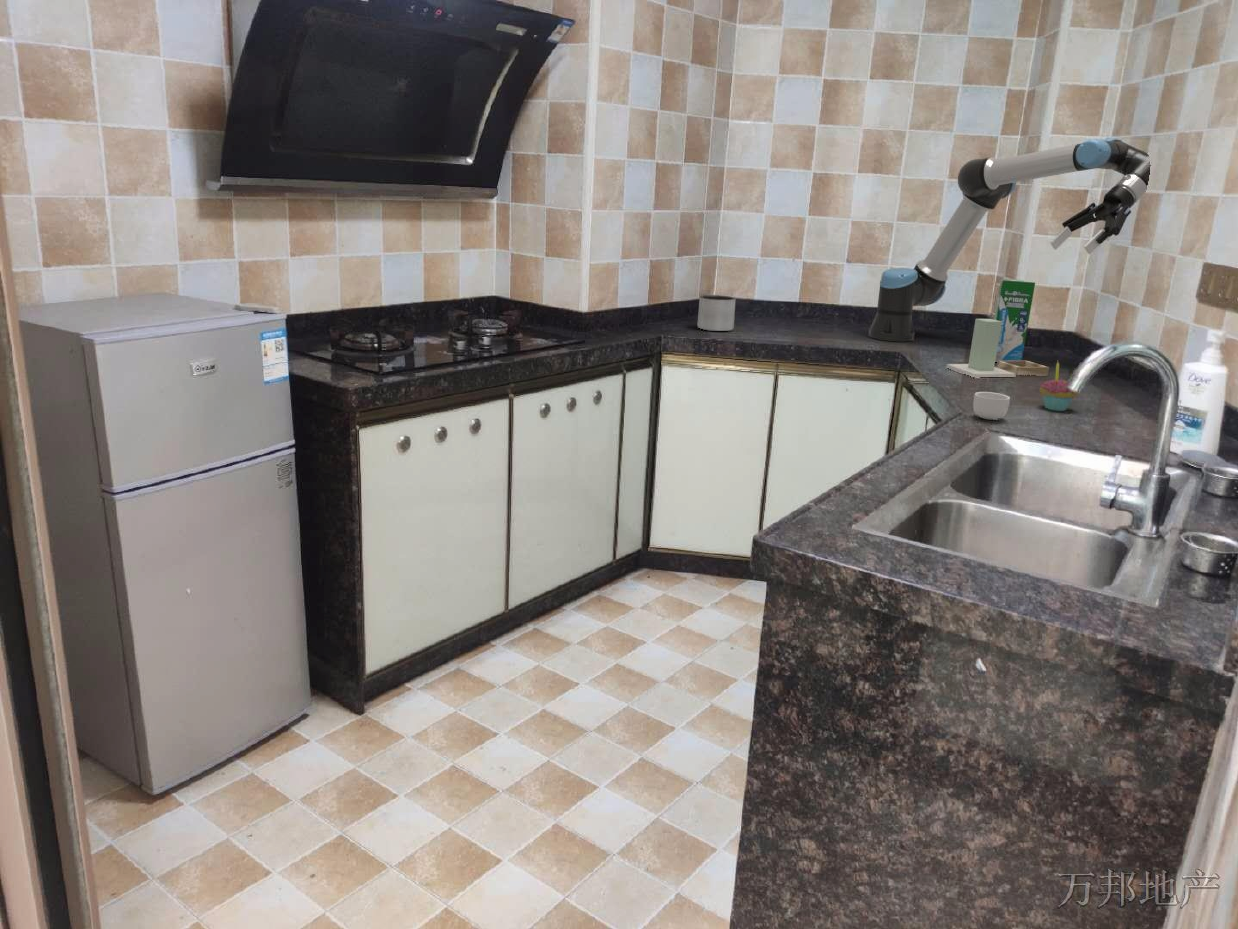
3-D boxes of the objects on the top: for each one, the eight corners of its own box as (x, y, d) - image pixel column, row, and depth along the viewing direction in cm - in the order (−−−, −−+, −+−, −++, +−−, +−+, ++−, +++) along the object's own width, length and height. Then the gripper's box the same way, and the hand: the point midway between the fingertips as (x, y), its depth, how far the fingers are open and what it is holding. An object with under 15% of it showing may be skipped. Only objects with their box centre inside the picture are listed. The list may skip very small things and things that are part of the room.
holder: (995, 369, 274) (997, 360, 273) (1024, 368, 277) (1026, 360, 276) (1018, 376, 265) (1019, 367, 264) (1047, 375, 267) (1049, 367, 267)
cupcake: (1056, 413, 222) (1065, 364, 218) (1028, 405, 229) (1037, 357, 226) (1082, 411, 225) (1091, 362, 222) (1053, 403, 233) (1062, 356, 229)
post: (967, 367, 268) (975, 318, 264) (982, 366, 270) (990, 318, 265) (978, 370, 264) (986, 321, 260) (993, 370, 265) (1001, 321, 261)
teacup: (1013, 422, 211) (1017, 399, 210) (981, 422, 210) (985, 399, 209) (990, 411, 221) (994, 389, 219) (960, 411, 220) (963, 389, 218)
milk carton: (1018, 360, 290) (1032, 279, 282) (1020, 365, 281) (1035, 282, 274) (987, 357, 292) (1001, 277, 285) (989, 362, 284) (1002, 279, 277)
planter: (726, 333, 314) (729, 300, 311) (691, 329, 319) (694, 297, 316) (738, 329, 325) (740, 297, 322) (704, 325, 330) (706, 293, 327)
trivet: (946, 368, 272) (946, 364, 271) (984, 367, 275) (985, 363, 275) (975, 378, 259) (976, 374, 259) (1015, 377, 262) (1015, 373, 262)
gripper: (1086, 183, 272) (1033, 234, 272) (1153, 185, 249) (1095, 241, 249) (1097, 203, 275) (1045, 253, 275) (1165, 206, 252) (1108, 262, 252)
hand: (1069, 248), depth 262 cm, fingers open, 13 cm apart
